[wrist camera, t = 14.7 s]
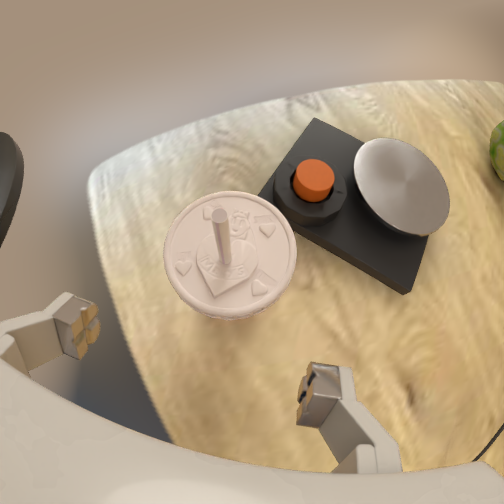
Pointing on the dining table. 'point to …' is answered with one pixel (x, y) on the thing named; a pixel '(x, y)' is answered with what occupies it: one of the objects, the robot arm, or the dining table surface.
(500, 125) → the decorative ball
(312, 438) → the dining table surface
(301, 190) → the tare button
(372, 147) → the scale pan
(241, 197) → the smoothie
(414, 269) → the scale
